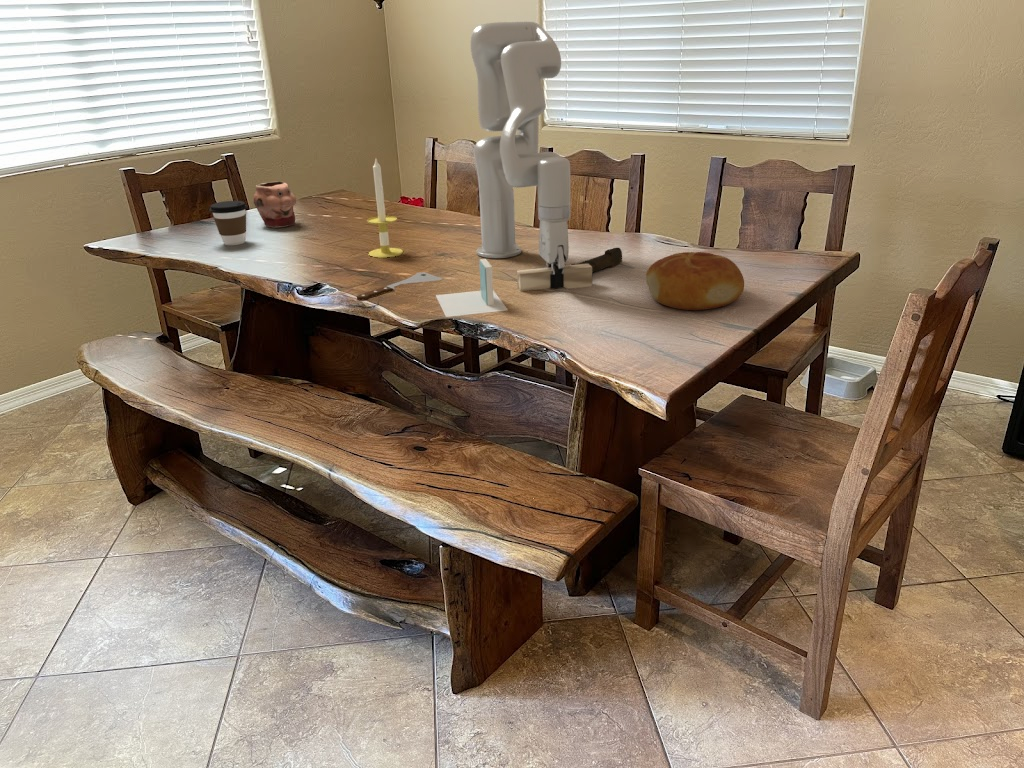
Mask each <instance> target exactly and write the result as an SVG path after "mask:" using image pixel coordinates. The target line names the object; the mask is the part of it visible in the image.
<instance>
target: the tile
mask: <svg viewBox="0 0 1024 768" xmlns="http://www.w3.org/2000/svg"><path fill="white" fill-rule="evenodd" d="M478 261H479V262H478V263H479V266H478V267H479V281H480V284H479V285H480V291H481V297H482V298H483V300H484V301H485V303H486V304H487V305H488V306H490V305H494V299H493V290H494V281H493V279H494V278H493V266H492V265H491V263H490V261H488V260H487V259H486V258H479V260H478Z"/></svg>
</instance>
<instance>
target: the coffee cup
mask: <svg viewBox="0 0 1024 768" xmlns="http://www.w3.org/2000/svg"><path fill="white" fill-rule="evenodd" d="M209 207H210V208H209V212H210V213H212V215H213V219H214V222H215V225H216V227H217V231H218V234H219V235H220V238H221V240H222V243H223V244H224V246H237V245H238V246H239V245H243V244H245V243H246V238H247V234H246V233H247V214H246V209H248V205H247V204H246V203H245V202H244V200H243V201H241V200H227V201H225V200H224V201H219V202H215V203H212V204H210V206H209Z"/></svg>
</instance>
